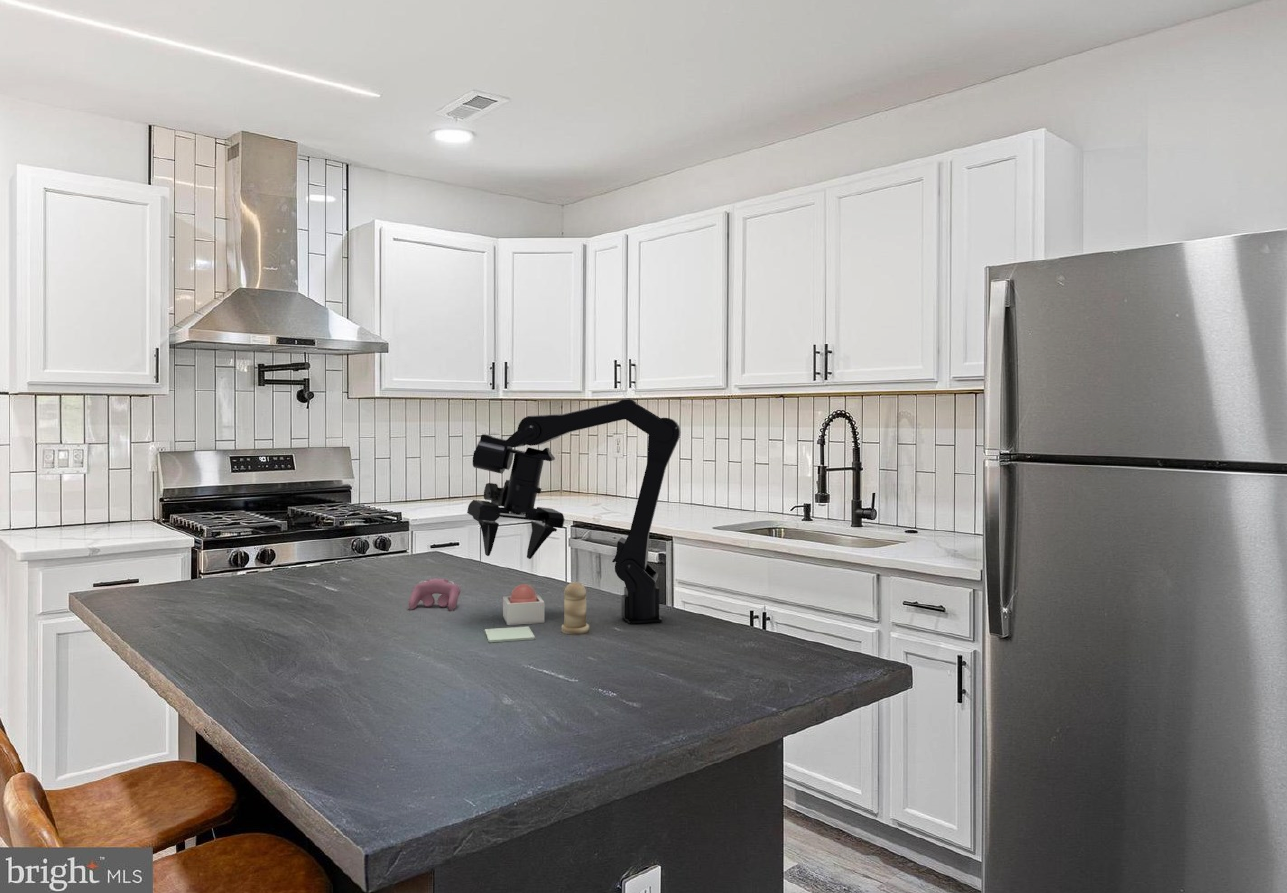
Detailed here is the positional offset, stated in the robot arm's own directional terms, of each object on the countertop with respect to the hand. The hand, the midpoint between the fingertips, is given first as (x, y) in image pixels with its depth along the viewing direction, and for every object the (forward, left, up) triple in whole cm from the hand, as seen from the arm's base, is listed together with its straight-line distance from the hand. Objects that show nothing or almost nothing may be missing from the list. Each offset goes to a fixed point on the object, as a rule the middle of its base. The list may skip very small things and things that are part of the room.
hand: (508, 557), depth 166 cm
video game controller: (+14, -13, -12) cm, 22 cm away
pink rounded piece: (-2, +3, -10) cm, 11 cm away
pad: (+1, +14, -12) cm, 19 cm away
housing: (-3, +3, -12) cm, 12 cm away
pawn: (-11, +14, -12) cm, 21 cm away
